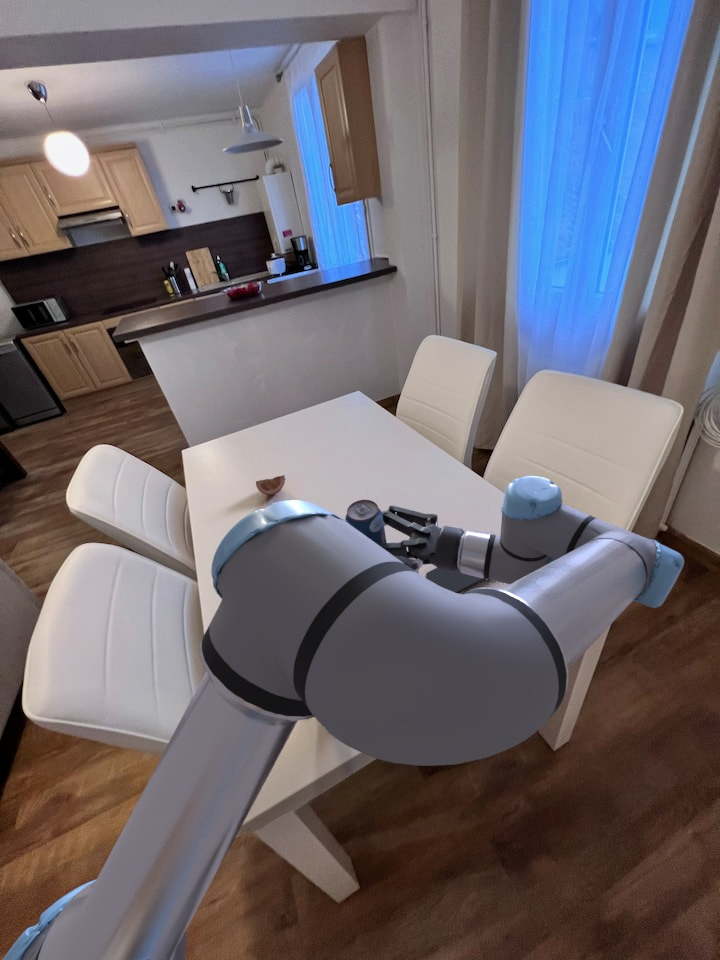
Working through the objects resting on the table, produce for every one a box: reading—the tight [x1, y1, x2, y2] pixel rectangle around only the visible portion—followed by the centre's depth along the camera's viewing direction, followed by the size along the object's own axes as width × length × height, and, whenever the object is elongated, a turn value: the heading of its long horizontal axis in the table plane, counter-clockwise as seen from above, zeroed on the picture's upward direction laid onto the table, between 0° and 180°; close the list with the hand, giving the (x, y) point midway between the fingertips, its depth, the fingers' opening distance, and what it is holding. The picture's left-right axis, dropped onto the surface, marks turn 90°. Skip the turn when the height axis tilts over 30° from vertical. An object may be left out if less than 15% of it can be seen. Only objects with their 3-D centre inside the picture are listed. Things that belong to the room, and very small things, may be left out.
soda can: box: [344, 499, 387, 543], centre depth 77 cm, size 7×7×12 cm
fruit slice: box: [255, 474, 287, 496], centre depth 116 cm, size 8×7×5 cm
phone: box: [425, 567, 486, 594], centre depth 84 cm, size 7×1×15 cm
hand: (343, 526), depth 78 cm, fingers closed on soda can, 7 cm apart
